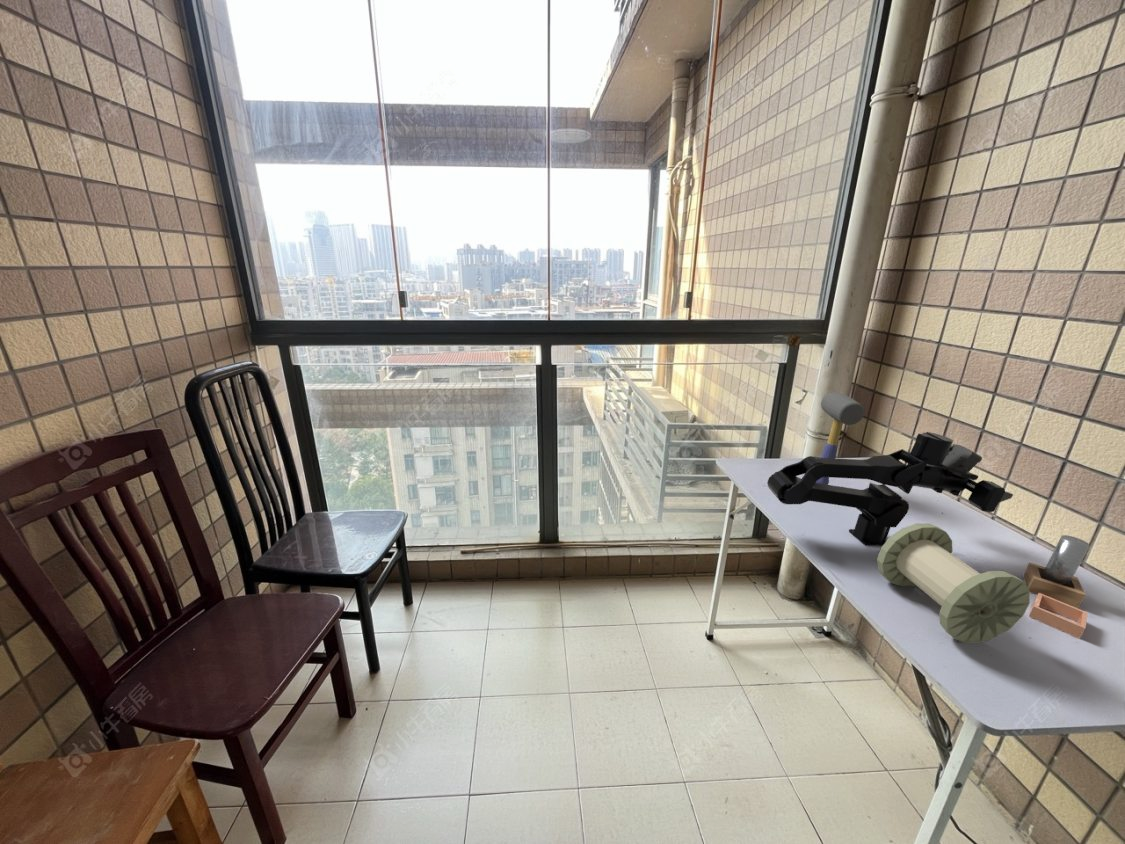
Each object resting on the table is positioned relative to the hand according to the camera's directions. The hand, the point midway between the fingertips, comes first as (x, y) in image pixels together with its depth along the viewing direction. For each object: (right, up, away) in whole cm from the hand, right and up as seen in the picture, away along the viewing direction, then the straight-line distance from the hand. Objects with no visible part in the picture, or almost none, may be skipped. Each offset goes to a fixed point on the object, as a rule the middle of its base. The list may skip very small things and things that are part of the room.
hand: (993, 486), depth 104 cm
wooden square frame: (+2, -21, -10) cm, 24 cm away
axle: (+2, -21, -10) cm, 24 cm away
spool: (-29, -23, -16) cm, 40 cm away
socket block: (-6, -24, -18) cm, 30 cm away
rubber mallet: (-22, -5, +33) cm, 40 cm away
